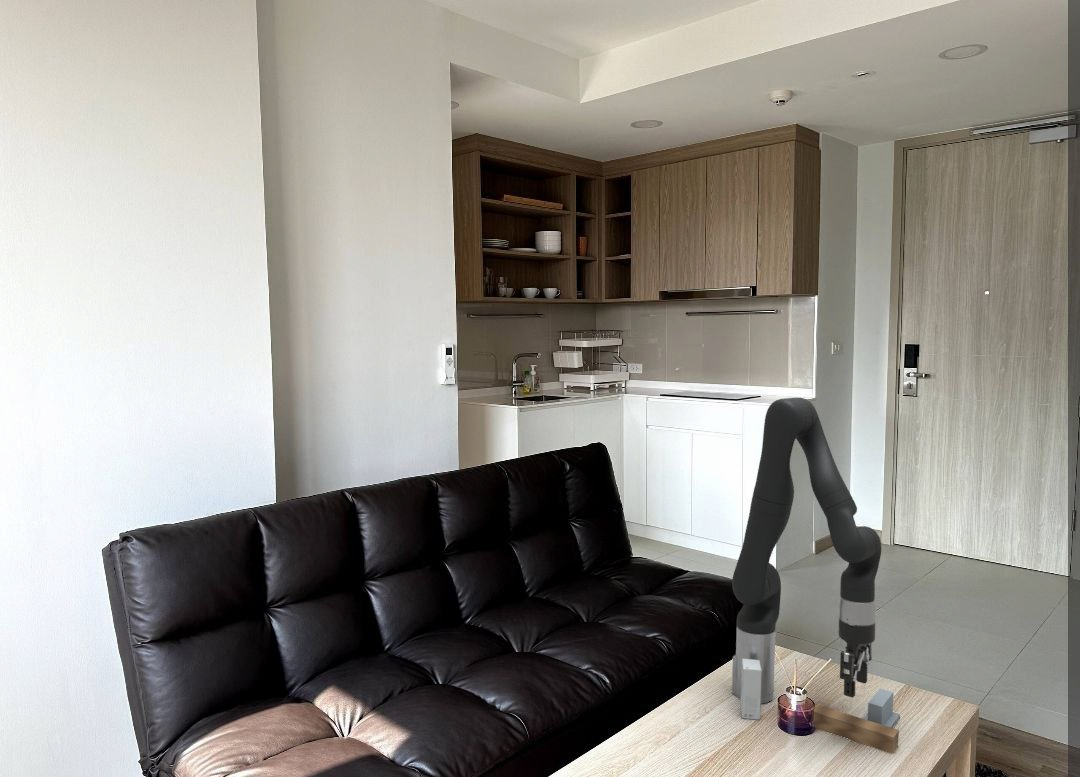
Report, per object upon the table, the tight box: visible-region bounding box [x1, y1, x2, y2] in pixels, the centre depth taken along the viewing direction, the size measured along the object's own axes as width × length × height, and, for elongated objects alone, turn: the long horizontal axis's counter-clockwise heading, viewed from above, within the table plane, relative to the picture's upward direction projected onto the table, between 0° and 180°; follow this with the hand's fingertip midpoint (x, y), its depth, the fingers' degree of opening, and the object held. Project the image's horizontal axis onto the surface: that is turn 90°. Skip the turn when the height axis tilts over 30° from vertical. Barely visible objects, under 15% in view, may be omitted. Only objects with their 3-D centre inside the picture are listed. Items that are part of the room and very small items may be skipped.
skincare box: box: [740, 659, 761, 721], centre depth 183 cm, size 6×4×12 cm
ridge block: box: [862, 688, 901, 728], centre depth 179 cm, size 6×10×6 cm, turn 141°
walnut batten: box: [814, 704, 900, 755], centre depth 173 cm, size 18×4×4 cm, turn 50°
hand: (855, 689), depth 172 cm, fingers open, 8 cm apart
